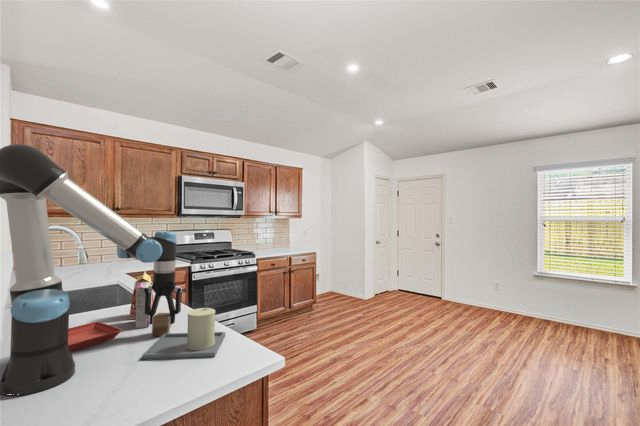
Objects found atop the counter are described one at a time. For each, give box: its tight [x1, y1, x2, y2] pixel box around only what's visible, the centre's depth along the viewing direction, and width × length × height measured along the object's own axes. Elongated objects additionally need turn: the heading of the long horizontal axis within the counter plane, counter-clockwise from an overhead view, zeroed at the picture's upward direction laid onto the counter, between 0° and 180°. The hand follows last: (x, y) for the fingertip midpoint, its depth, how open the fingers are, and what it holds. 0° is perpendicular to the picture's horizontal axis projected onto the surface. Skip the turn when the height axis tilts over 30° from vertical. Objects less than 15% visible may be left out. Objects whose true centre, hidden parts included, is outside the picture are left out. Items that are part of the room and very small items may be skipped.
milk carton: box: [128, 270, 155, 320], centre depth 138 cm, size 9×9×20 cm
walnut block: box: [152, 312, 170, 337], centre depth 117 cm, size 5×5×7 cm
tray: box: [141, 331, 226, 361], centre depth 106 cm, size 18×22×2 cm
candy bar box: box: [134, 281, 153, 329], centre depth 128 cm, size 11×5×16 cm, turn 22°
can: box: [186, 307, 216, 350], centre depth 106 cm, size 9×9×12 cm
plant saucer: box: [68, 321, 123, 353], centre depth 110 cm, size 18×18×3 cm
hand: (162, 332), depth 117 cm, fingers closed on walnut block, 5 cm apart
